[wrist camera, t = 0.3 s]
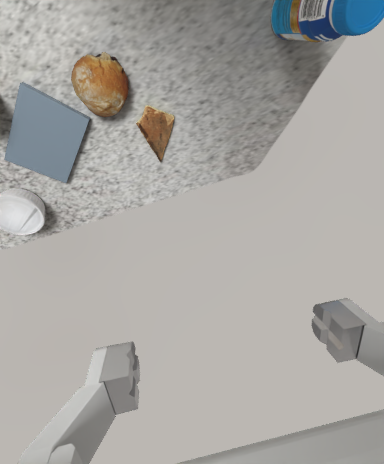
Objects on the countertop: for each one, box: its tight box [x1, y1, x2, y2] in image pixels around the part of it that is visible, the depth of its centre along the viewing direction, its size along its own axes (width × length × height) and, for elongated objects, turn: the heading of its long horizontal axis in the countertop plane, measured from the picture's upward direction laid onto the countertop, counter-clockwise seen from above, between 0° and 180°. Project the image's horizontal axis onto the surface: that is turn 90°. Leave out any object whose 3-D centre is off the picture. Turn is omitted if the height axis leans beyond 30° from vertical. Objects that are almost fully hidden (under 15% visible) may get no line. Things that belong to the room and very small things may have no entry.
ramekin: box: [0, 188, 45, 235], centre depth 56 cm, size 11×11×5 cm
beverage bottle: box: [271, 0, 384, 42], centre depth 37 cm, size 8×8×20 cm
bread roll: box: [71, 52, 129, 117], centre depth 44 cm, size 10×10×8 cm
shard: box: [136, 105, 174, 162], centre depth 53 cm, size 11×8×2 cm
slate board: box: [4, 82, 90, 183], centre depth 49 cm, size 16×12×2 cm
